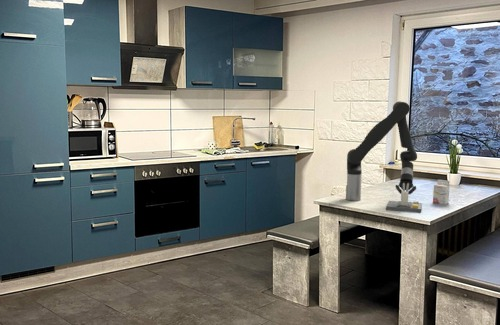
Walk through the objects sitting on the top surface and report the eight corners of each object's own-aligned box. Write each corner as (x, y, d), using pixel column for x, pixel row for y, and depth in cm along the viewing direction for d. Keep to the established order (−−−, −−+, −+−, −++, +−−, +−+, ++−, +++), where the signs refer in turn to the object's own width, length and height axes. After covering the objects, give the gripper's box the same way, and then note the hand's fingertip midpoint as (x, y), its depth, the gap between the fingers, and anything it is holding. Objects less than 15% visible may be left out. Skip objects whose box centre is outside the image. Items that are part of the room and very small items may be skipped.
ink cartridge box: (432, 202, 324) (433, 180, 322) (435, 201, 328) (437, 179, 326) (445, 204, 318) (446, 181, 316) (448, 203, 322) (450, 180, 320)
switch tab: (400, 205, 305) (401, 192, 304) (401, 204, 309) (401, 191, 308) (407, 205, 304) (408, 192, 303) (407, 204, 307) (408, 191, 306)
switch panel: (386, 209, 303) (386, 204, 302) (388, 203, 320) (388, 198, 319) (421, 212, 296) (421, 206, 296) (421, 206, 313) (422, 200, 312)
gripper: (395, 172, 317) (393, 194, 308) (417, 173, 313) (416, 196, 303) (395, 179, 323) (393, 201, 313) (417, 180, 319) (416, 203, 309)
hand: (404, 199), depth 308 cm, fingers closed
